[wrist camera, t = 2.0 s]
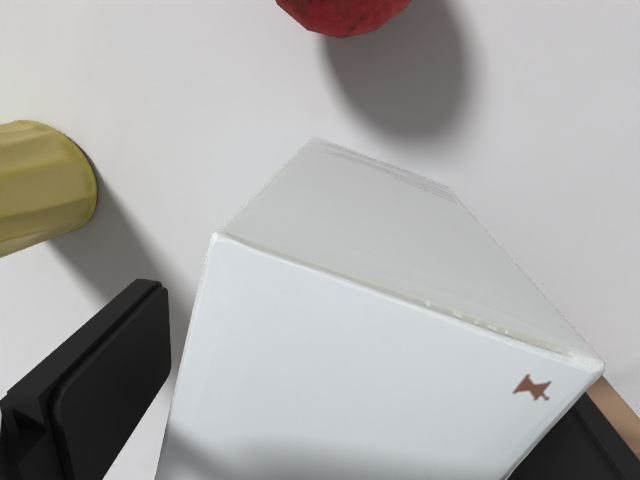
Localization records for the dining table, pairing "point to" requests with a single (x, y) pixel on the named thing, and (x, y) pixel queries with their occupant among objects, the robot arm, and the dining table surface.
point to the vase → (41, 185)
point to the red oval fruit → (342, 14)
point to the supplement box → (365, 337)
